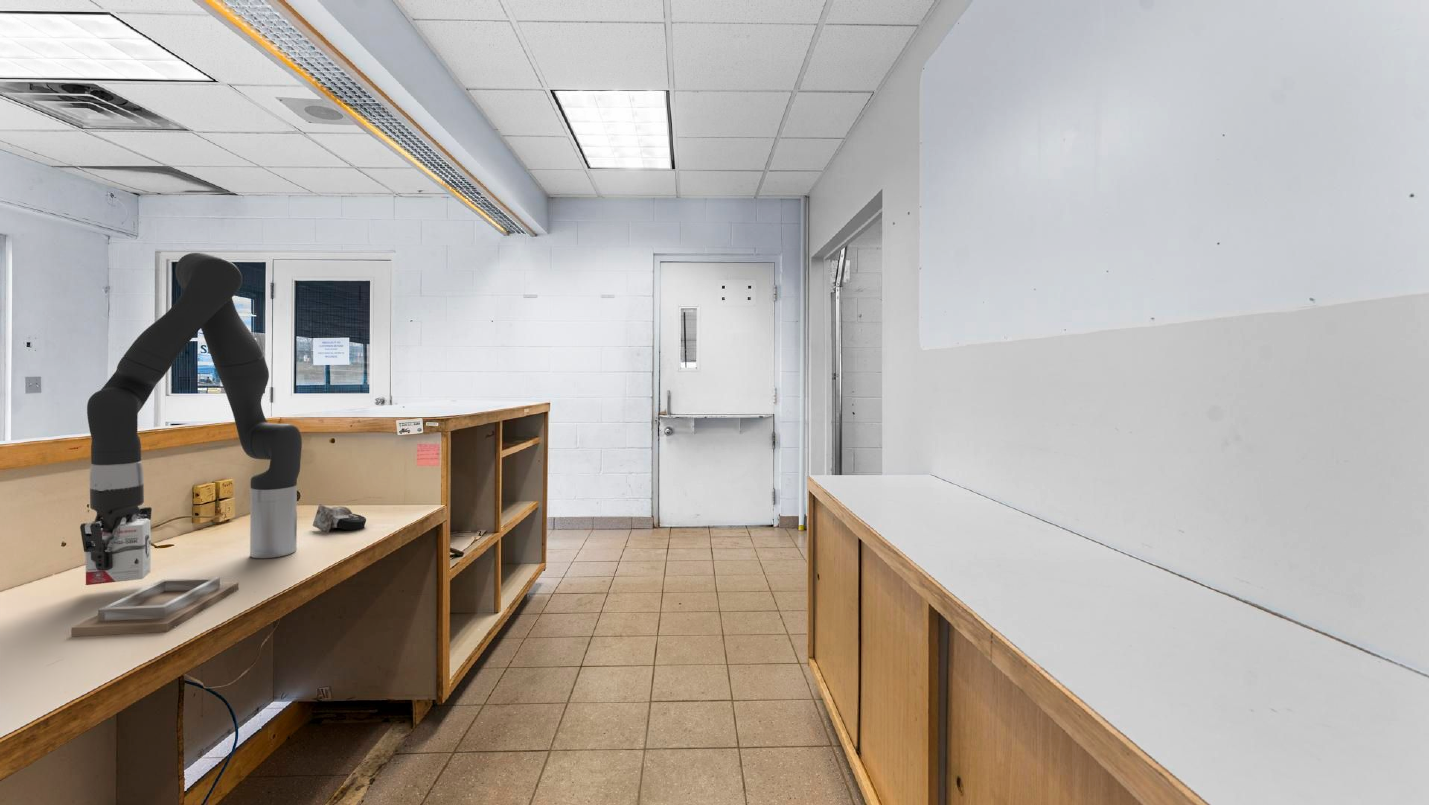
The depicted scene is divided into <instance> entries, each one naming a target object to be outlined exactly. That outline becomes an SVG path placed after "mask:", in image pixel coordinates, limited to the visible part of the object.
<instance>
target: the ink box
mask: <svg viewBox="0 0 1429 805" xmlns="http://www.w3.org/2000/svg"><path fill="white" fill-rule="evenodd" d="M151 521H152V520H149V519H137V520H136V521H135V522H127V523H125V525H124V526H121V527H120V536H119V538H118V540H116V541H115V542H114V544H113V547H112V550H111V551H112V558H113V568H112V569H110V570H104V571H99V570H97V568H96V555H95V553H94V552H85V586H91V585H100V584H107V583H108V584H110V583H119V582H127V581H136V580H142V579H143V580H144V579H145V577H146V576H148V575H149V574H150V573H151V566H152V565H151V564H152V563H151V562H152V559H151V557H152V555H151V554H152V553H151V549H152V548H151V547H152V545H151V544H152V543H151V542H152V541H151V535H152V534H151V528H152V527H151ZM101 532H102V536H110V535H112V533H107V532H103V531H101ZM106 542H107V540H103V545H104V546H105V545H106ZM91 544H92V546H94V542H93V541H91Z"/></svg>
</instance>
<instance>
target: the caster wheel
mask: <svg viewBox="0 0 1429 805" xmlns="http://www.w3.org/2000/svg"><path fill="white" fill-rule="evenodd" d="M366 522H367V518H366V517H365V516H363V515H360V514H356V513H353V512H352V511H351V509H349V508H348V507H346V506H328V507H327V506H325V505H322V504H321V503H320V504H319V505H318V507H317V511H316V513H315V516H314V520H313V523H312V527H314V528H317V529H318V530H320V531H323V532H324V533H326V534H327V533H329V532H330V529H331V528H333V529H334V528H337V529H343V530H350V531H354V530H355V531H356V530H357V531H358V530H362V529H364V528H365V525H366Z"/></svg>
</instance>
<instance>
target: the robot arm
mask: <svg viewBox="0 0 1429 805" xmlns="http://www.w3.org/2000/svg"><path fill="white" fill-rule="evenodd" d="M174 272H175V277H176V280H177V282H178V285H179V286H180V287H181V290H182V293H181V294H180V296H179V297H178V299H177V301H176V302H175V303H174V304H173V305H172V307H170V308H169V310H168V311H167V312H165V313H164V314H163V315H162V316H161V317H159V318H158V319H157V320H155V322H153V323H152V324H151V325H150V326H148V327H147V328H146V329H145V330H144V331H143V332H142V333H141V334H140V335H138V337H137V338H136V339H135V340H134V341H133V343H132V344H131V345H130V347H128V349H127V350H126V352H125V353H124V354H123V356H122V357H121V359H120V360H119V361H118V363H117V367H116V371H114V373H113V374H112V375H111V377H110V378H109V379H108V380H107V382H106V383H105V384H104V386H102V388H100V390H98V391H96V392H94V393H93V394H92V395H91V396H90V397H89V399H88V401H87V405H86V414H87V415H86V416H87V423H88V427H89V433H90V438H91V444H90V460H91V461H90V463H91V464H90V470H89V502H90V503H89V505H90V506H89V507H90V509H91V510H92V511H95V512H96V516H95V519H94V521H91V522H86V523H81V524H80V526H79V529H80V535H81V542H82V543H81V544H82V548H83V553H86V552H94V553H95V555H96V568H97V570H99V571H104V570H110V569H112V568H113V558H112V551H111V550H112V547H113V544H114V542H115V541H116V540H118V538H119V536H120V527H121V526H124V525H125V523H127V522H135V521H136V520H137V519H149V520H151V519H152V509H153V508H152V507H150V506H149V507H148V506H147V507H145V506H144V507H142V505H143V504H144V503H145V496H144V495H145V494H144V492H145V489H144V469H143V468H144V467H143V464H142V443H141V438H140V436H139V434H138V430H139V429H138V428H139V427H138V426H139V423H138V422H139V420H138V418H139V417H138V416H139V415H138V413H139V412H140V410H142V408H143V407H144V406H145V404H146V403H147V401H148V399H149V397H150V396H151V394H152V393H153V391H154V390H155V387H156V385H157V384H158V383H159V382H160V381H161V380H162V379H163V377H164V376H166V373H167V372H168V371H169V370H170V368H171V367H172V365H173V364H174V363H175V362H176V360H177V359H178V357H179V356H180V354H181V353H182V352H183V350H184V349H185V348H186V346H187V345H188V344H189V342H190V341H191V340H192V339H193V338H194V337H195V336H196V334H197V333H198V332H199V331H200V330H201V333H202V335H203V338H204V341H205V344H206V346H207V350H208V352H209V355H210V356H211V361H212V363H213V366H214V368H215V371H216V373H217V375H218V378H219V380H220V382H221V384H222V387H223V389H224V392H225V394H226V397H227V401H228V403H229V406H230V409H231V412H232V414H233V419H234V422H235V426H236V430H237V435H238V439H239V442H240V444H241V448H242V449H243V452H244V453H245V454H246V456H248V457H249V458H251V459H255V460H265V461H267V460H268V461H269V467H268V469H266V471H263V472H261V473H257V474H255V475H253V476H252V477H251V478H250V512H249V514H250V522H249V523H250V526H249V527H250V529H249V532H250V534H249V537H250V538H249V542H250V543H249V546H250V547H249V550H250V551H249V557H251V558H254V559H272V558H279V557H283V556H287V555H291V554H293V553H295V552H296V551H297V543H298V542H297V541H298V540H297V539H298V536H297V534H298V533H297V530H298V528H297V527H298V525H297V524H298V521H297V520H298V519H297V518H298V513H297V507H298V504H297V503H298V502H297V501H298V497H297V495H298V493H297V492H298V491H297V490H298V486H297V485H298V482H297V481H298V477H299V475H300V470H301V461H302V447H303V443H302V442H303V441H302V440H303V439H302V434H301V432H300V430H299V428H298V427H297V426H296V425H294V424H290V423H274V422H273V423H271V422H268V421H267V419H266V417H265V415H264V414H265V413H264V412H263V407H262V400H263V396H264V394H265V390H266V389H267V385H268V382H269V379H270V372H269V368H268V367H269V366H268V364H267V362H266V358H265V356H264V354H263V351H262V349H261V347H260V345H259V342H258V341H257V340H256V338H255V336H254V335H253V333H252V332H251V331H250V329H249V328H248V327H247V325H246V324H245V322H244V321H243V319H242V318H241V316H240V315H239V313H238V311H237V309H236V306H235V302H234V300H233V297H234V296H235V295H236V294H237V293H238V292H239V290H240V289H241V287H242V284H243V275H242V273H241V271H240V270H239V267H237V265H236V264H234V263H233V262H232V261H230V260H227V259H225V258H222V257H218V256H215V255H211V254H208V253H203V252H191V253H187V254H185V255H184V256H182V257H180V258H179V260H178V261H177V262H176V266H175V271H174ZM140 506H141V507H140ZM151 521H152V520H151ZM101 531H103V532H107V533H112V535H110V536H102V532H101ZM103 540H107V542H106V545H105V546H104V545H103ZM91 541H93V542H94V546H92V544H91Z"/></svg>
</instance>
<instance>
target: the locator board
mask: <svg viewBox="0 0 1429 805" xmlns="http://www.w3.org/2000/svg"><path fill="white" fill-rule="evenodd" d="M239 583H240V582H239V581H238V582H221V578H220V577H203V578H202V577H201V578H173V579H172V578H169V579H168V578H167V579H166V578H165V579H161V580H158V581H157V582H154V583H153V584H149V585H148V586H146V587H144V588H142V589H140V590H138V591H136V592H134V593H131V594H128V595H126V596H124V597H123V598H121V599H118V600H116V601H114V602H112V603H110V604H108V605H105V606H104V607H101V608H99V609H98V610H97V615H94V616H92V617H91V618H89V619H86V620H85V621H82V622H81V623H78V624H76V625H74V626H72V627H71V628H70V632H71V633H70V635H71V637H85V636H86V637H87V636H88V637H89V636H107V635H126V634H127V635H128V634H147V633H148V632H152V633H169V631H171V630H172V629H174V628H176V627H178V626H179V625H181V624H183V623H184V622H186V621H188V620H189V618H190V619H192V618H193V617H194V615H195V616H197V614H200V613H201V612H203V611H205V610H207V609H208V608H210V607H212V606H213V605H215V604H216V603H218V602H220V601H222V600H223V599H225V598H227V597H228V596H230V595H231V594H233V593H235V592H236V591H238V590H239V585H240V584H239ZM234 591H235V592H234ZM204 609H205V610H204ZM199 612H200V613H199ZM175 626H176V627H175ZM148 634H149V633H148Z"/></svg>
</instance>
